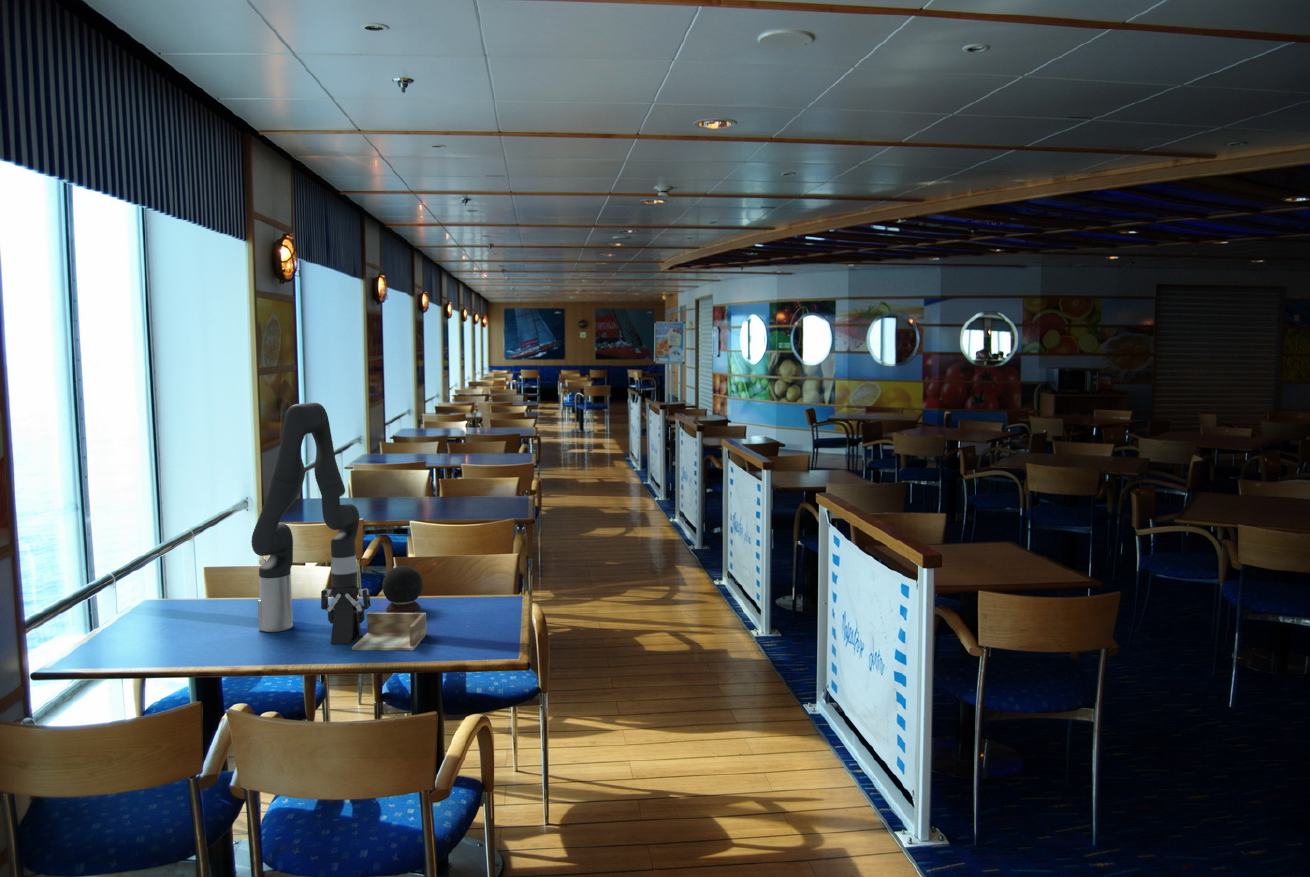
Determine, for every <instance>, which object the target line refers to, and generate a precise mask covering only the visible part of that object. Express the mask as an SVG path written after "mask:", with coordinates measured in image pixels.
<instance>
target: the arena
mask: <svg viewBox="0 0 1310 877" xmlns="http://www.w3.org/2000/svg"><path fill="white" fill-rule="evenodd" d="M366 628H367V630H366V631H367V633H366V634H364V635H362V636H361V638H360V639H359V640H358V641H357V642H356V643H355V644H354V645H353V646H351V651H414V650H415V649H416V648H417V646H418V645H419V644H420V643H421V641H422V640H424V638H425V637H426V636H427V632H428V631H427V612H414V613H387V612H367V613H366Z"/></svg>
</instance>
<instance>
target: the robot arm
mask: <svg viewBox="0 0 1310 877" xmlns="http://www.w3.org/2000/svg"><path fill="white" fill-rule="evenodd" d="M283 420H284V421H283V425H282V430H281V431H282V432H281V437H280V438H281V439H280V444H279V448H278V452H277V456H276V461H275V464H274V468H273V471H272V474H271V478H270V481H269V485H268V489H267V493H266V497H265V500H264V503H263V506H262V509H261V511H260V514H259V517H258V518H257V521H256V524H255V526H254V529H253V532H252V534H251V547H252V550H253V552H254V553H255V554H256V555H258V556H260V557H267V556H269V557H268V559H267V560H266V561H265V562H264V563H263V564H262V565H260V567H259V569H258V576H259V578H258V579H259V580H258V581H259V582H258V583H259V599H258V601H257V620H258V621H257V622H258V623H257V624H258V631H262V632H267V633H268V632H269V633H278V632H282V631H287V630H289V629H291V628H293V627H294V626H293V625H294V623H293V621H294V620H293V618H294V617H293V600H292V598H293V597H292V594H293V592H292V579H291V578H292V577H291V576H292V575H291V574H292V572H291V570H292V567H293V564H294V557H293V556H294V538H293V532H292V530H291V528H290V527H289V526H288V524H286V523H283V522H280V521H281V520H282V518H283V516H284V515H285V513H286V512H287V511H288V510H289V508H291V506H292V505H293V504H294V503H295V502H296V500H297V499H298V497H299V495H300V494H301V492H302V488H303V484H304V481H305V477H306V469H305V465H304V460H303V459H302V455H301V450H302V445H303V441H304V438H305V436H306V435H308V434H311V435H312V437H313V440H314V443H315V444H314V445H315V450H316V451H315V462H314V470H313V471H314V477H315V482H316V483H317V486H318V490H319V492H320V495H321V496H320V497H321V508H322V509H321V510H322V518H323V521H324V523H325V525H326V526H327V527H328V528H329V529H331V530H333V531H338V532H337V534H336V535H335V536H334V537H333V538H331V540H330V554H331V555H330V556H331V558H330V559H331V560H330V573H331V574H330V575H331V579H330V580H331V589H328V588H327V587H326V588H324V589H322V590H321V593H320V595H321V597H320V602H321V603H320V609H321V610H322V611H323V610H324V611H327V621H328V622H329V623H330V624H333V617H334V606H335V604H336V603H337V602H338V603H339V604H344V603H345V604H350V603H352V604H353V606H355V607H356V608H357V613H358V623H360V624H362V623H363V622H364V621H365V610H368V609H369V608H370V607H371V604H372V603H371V597H370V596H371V594H370V589H369V588H368V587H366V588H362V589H360V588H359V577H358V576H359V574H358V568H359V567H358V561H357V560H358V559H357V555H356V554H357V552H356V547H357V546H356V540H357V535H358V530H359V526H360V513H359V509H358V508H357V507H356V506H355V505H354V504H353V503H344V504H343V503H342V504H341V502H340V501H341V497H342V496H344V495H345V494H346V487H345V484H344V481H343V479H342V475H341V473H340V470H339V467H338V463H337V460H336V455H335V449H334V442H333V436H332V432H331V426H330V419H329V415H328V413H327V410H326V409H325V407H324V406H323V405H322V404H321V403H319V402H305V403H304V402H303V403H296V404H295V403H294V404H293V405H292V404H291V405H290V406H289V407H288V409H287V410H286V413H285V415H284V418H283ZM359 594H360V596H361V597H362V600H363V601H362V600H361V599H360V598H359ZM330 595H331V596H332V597H333V599H332V601H331V602H330V604H329V596H330Z"/></svg>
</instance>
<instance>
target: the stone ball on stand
mask: <svg viewBox="0 0 1310 877" xmlns="http://www.w3.org/2000/svg"><path fill="white" fill-rule="evenodd" d="M423 586H424V585H423V579H422V576H421V574H420V572H418V570H416V569H415V568H413V567H410V566H407V565H398V566H395V567H393V568H392V569H390V570H389V571H388V572H387V573H386V574H385V576H384V577H383V580H382V586H381V588H382V592H383V595H384V597H385V598H386V599H387V600H388V601H389V602H390V603H389V604H388V605H387V607H386V608H385V613H413V612H414V613H418V612H419V611H420V610H421V605H420V604H419V603H418V602H417V601H416V600H417V599H418V598H419V597H420V596H421V593H422V591H423Z"/></svg>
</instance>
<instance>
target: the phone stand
mask: <svg viewBox="0 0 1310 877" xmlns="http://www.w3.org/2000/svg"><path fill="white" fill-rule="evenodd" d="M333 610H334V617H333V623H332V628H331V635H330V636H331V638H330V644H331V645H352V644H353V643H354V642H355V641H357V640H358V639H359V638H360V637H361V638H362V637H363V632H362V629H361V628H362V627H361V623H358V609H357V608H356V607H355V606H353V604H352V603H350V604H345V603H344V604H339V603H338V602H337V603H336V604H335V606H334V609H333Z"/></svg>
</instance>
